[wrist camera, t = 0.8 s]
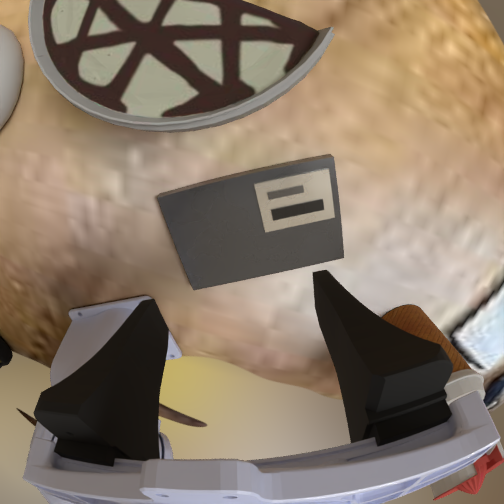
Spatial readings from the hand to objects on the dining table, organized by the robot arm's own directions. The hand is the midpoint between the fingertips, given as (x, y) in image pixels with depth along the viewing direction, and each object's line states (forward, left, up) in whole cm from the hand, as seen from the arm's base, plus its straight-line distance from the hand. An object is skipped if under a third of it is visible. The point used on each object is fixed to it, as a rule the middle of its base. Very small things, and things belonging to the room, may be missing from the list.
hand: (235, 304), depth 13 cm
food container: (-1, +11, -10) cm, 15 cm away
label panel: (+1, -1, -10) cm, 10 cm away
